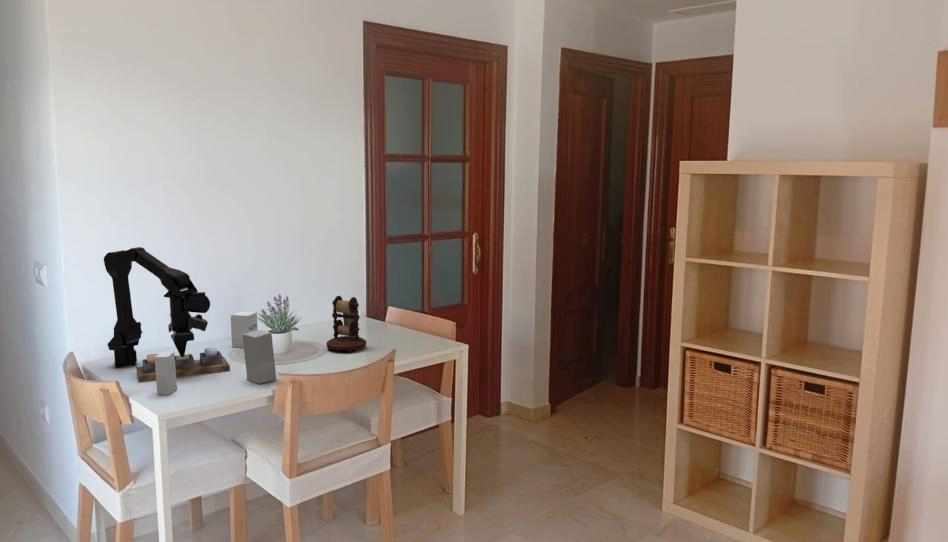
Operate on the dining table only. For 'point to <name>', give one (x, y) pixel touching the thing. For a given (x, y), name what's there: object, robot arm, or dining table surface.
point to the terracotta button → (151, 358)
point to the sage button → (182, 357)
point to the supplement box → (242, 326)
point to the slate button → (210, 351)
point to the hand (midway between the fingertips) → (182, 356)
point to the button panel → (187, 367)
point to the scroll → (346, 326)
